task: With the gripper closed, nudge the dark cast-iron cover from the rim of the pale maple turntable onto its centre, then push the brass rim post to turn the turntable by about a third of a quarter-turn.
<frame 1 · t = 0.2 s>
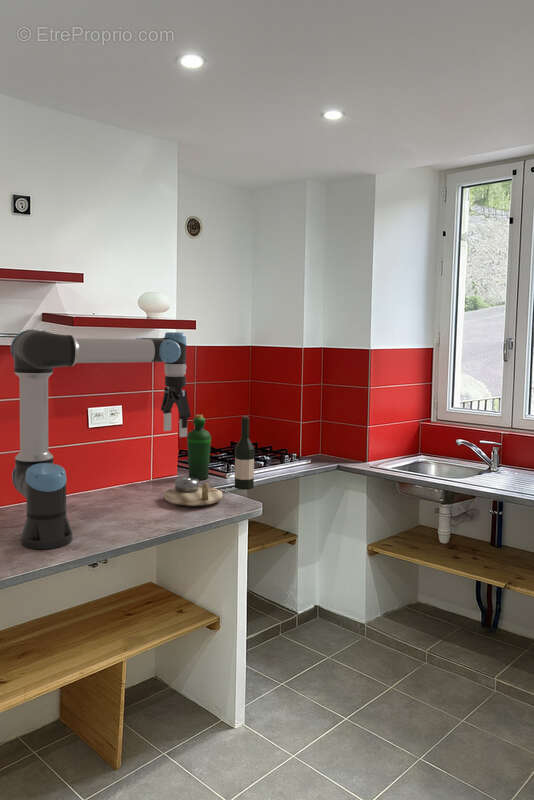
hand: (175, 433, 238), 28 cm above the table, fingers open, 13 cm apart
bottle: (198, 478, 287), on the table
turntable base: (193, 501, 251), on the table
turntable: (193, 487, 250), point 5 cm above the table, hinge at 0.0°, touching cover
wine bottle: (243, 487, 274), on the table
cover: (186, 489, 256), point 3 cm above the table, touching turntable
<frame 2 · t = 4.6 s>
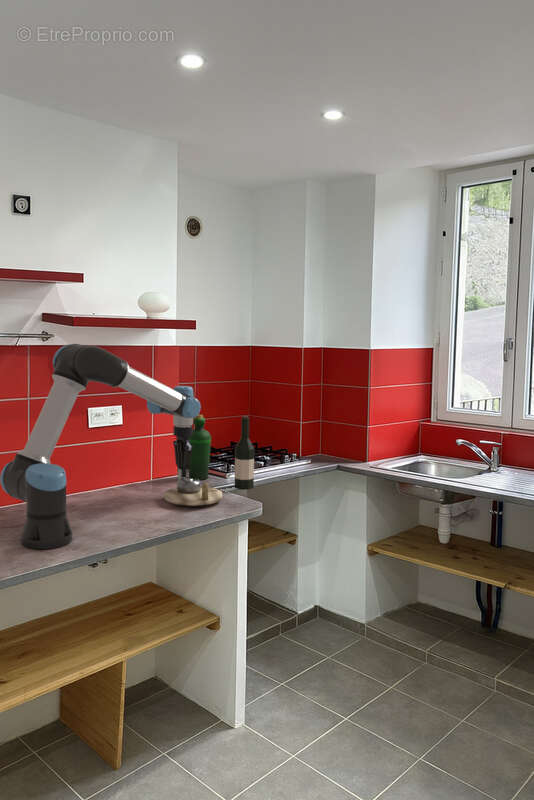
hand: (182, 484, 259), 4 cm above the table, fingers closed
cover: (188, 490, 254), point 3 cm above the table, touching turntable
everything else where it was.
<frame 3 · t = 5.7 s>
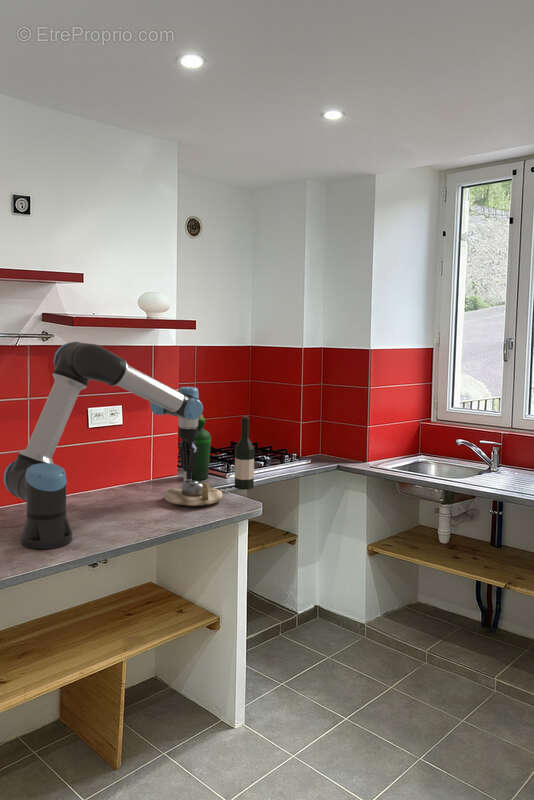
hand: (187, 486, 255), 4 cm above the table, fingers closed
cover: (193, 493, 251), point 3 cm above the table, touching turntable
everything else where it was.
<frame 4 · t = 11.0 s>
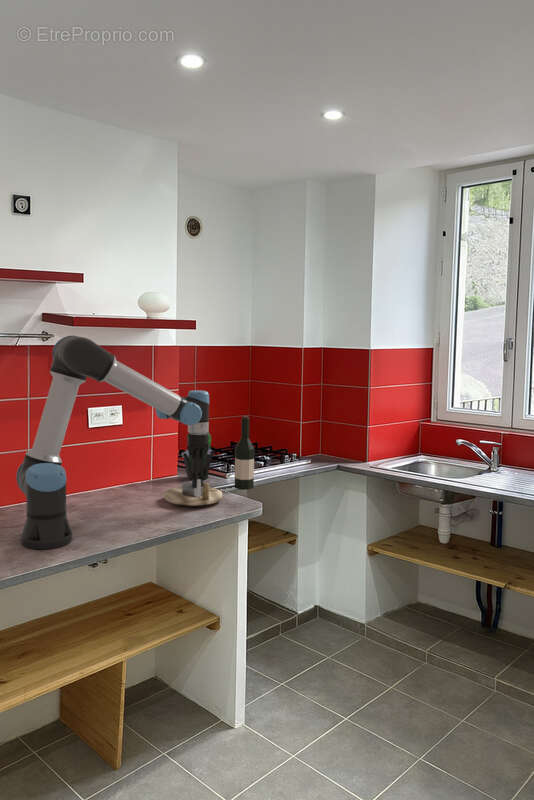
hand: (197, 495, 241), 5 cm above the table, fingers closed
turntable: (193, 487, 250), point 5 cm above the table, hinge at 1.1°, touching cover, gripper
everything else where it was.
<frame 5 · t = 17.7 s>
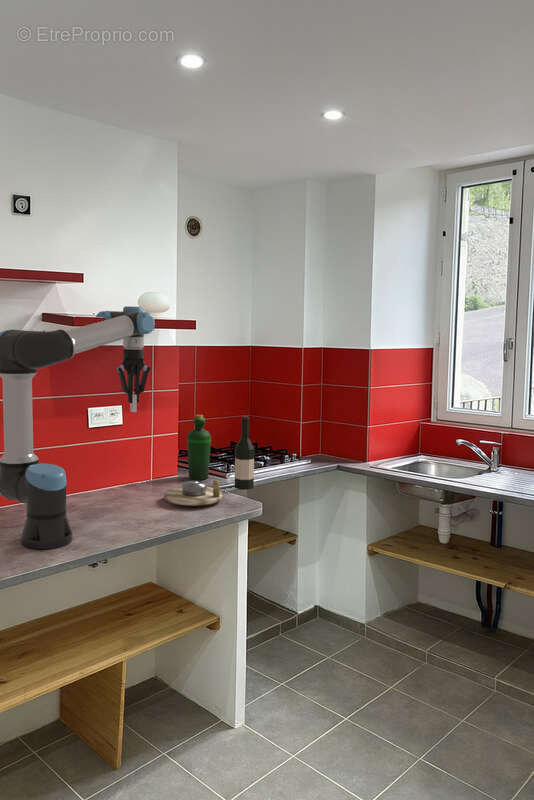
hand: (133, 411, 245), 34 cm above the table, fingers closed
turntable: (193, 487, 250), point 5 cm above the table, hinge at 37.0°, touching cover
everything else where it was.
at the end: cover 0.2 cm from the turntable (horizontally); cover tilted 0°; turntable at +37° (first picture: +0°) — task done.
